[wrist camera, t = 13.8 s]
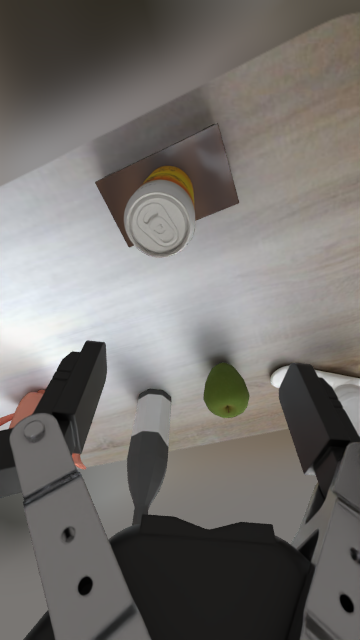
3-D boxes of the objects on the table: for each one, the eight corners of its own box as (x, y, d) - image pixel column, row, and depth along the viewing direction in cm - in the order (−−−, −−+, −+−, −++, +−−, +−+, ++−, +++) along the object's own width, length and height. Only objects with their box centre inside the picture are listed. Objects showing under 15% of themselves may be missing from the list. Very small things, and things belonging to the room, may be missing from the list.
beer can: (171, 152, 33) (160, 167, 20) (203, 195, 35) (210, 231, 23) (135, 189, 35) (105, 222, 23) (167, 226, 38) (156, 274, 25)
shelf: (214, 123, 35) (217, 123, 31) (234, 195, 40) (239, 202, 36) (104, 176, 39) (94, 182, 35) (134, 236, 43) (128, 247, 39)
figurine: (257, 392, 63) (277, 467, 49) (281, 350, 56) (312, 424, 42) (360, 411, 66) (406, 487, 52) (395, 373, 58) (460, 450, 45)
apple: (196, 357, 57) (198, 403, 48) (236, 347, 56) (246, 392, 46) (209, 385, 62) (212, 431, 52) (246, 376, 60) (257, 423, 51)
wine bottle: (132, 391, 64) (96, 558, 39) (166, 385, 62) (150, 554, 38) (145, 413, 68) (120, 575, 43) (176, 407, 67) (169, 572, 42)
